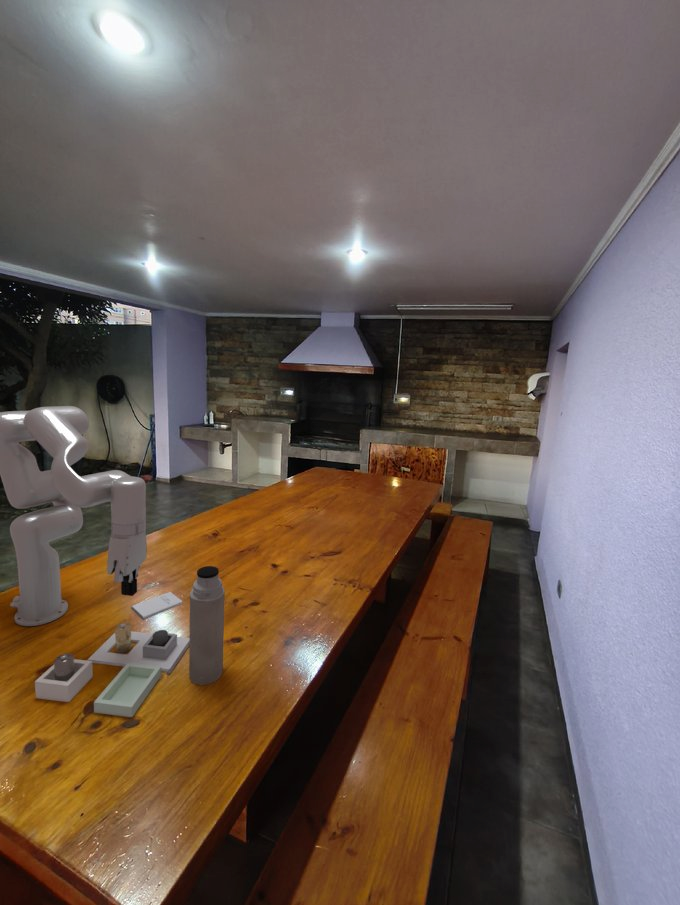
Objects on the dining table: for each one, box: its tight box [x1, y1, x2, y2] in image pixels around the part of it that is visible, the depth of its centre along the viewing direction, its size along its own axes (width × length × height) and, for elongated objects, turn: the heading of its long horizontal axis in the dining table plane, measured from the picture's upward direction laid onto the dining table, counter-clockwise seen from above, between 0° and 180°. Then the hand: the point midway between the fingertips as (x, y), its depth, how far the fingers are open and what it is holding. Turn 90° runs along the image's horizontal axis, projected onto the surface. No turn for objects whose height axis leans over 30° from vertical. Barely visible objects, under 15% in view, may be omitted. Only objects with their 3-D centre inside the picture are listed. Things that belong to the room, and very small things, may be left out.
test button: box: [152, 629, 169, 647], centre depth 102 cm, size 4×4×4 cm
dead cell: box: [53, 653, 75, 682], centre depth 89 cm, size 4×4×8 cm
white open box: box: [34, 658, 94, 703], centre depth 89 cm, size 8×8×5 cm
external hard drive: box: [130, 591, 183, 621], centre depth 124 cm, size 2×8×12 cm
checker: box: [87, 630, 190, 676], centre depth 103 cm, size 21×12×4 cm, turn 86°
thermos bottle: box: [188, 565, 226, 686], centre depth 96 cm, size 8×8×28 cm
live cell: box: [114, 622, 132, 654], centre depth 103 cm, size 4×4×8 cm
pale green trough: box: [93, 663, 162, 718], centre depth 89 cm, size 8×12×3 cm
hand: (129, 593), depth 100 cm, fingers closed
